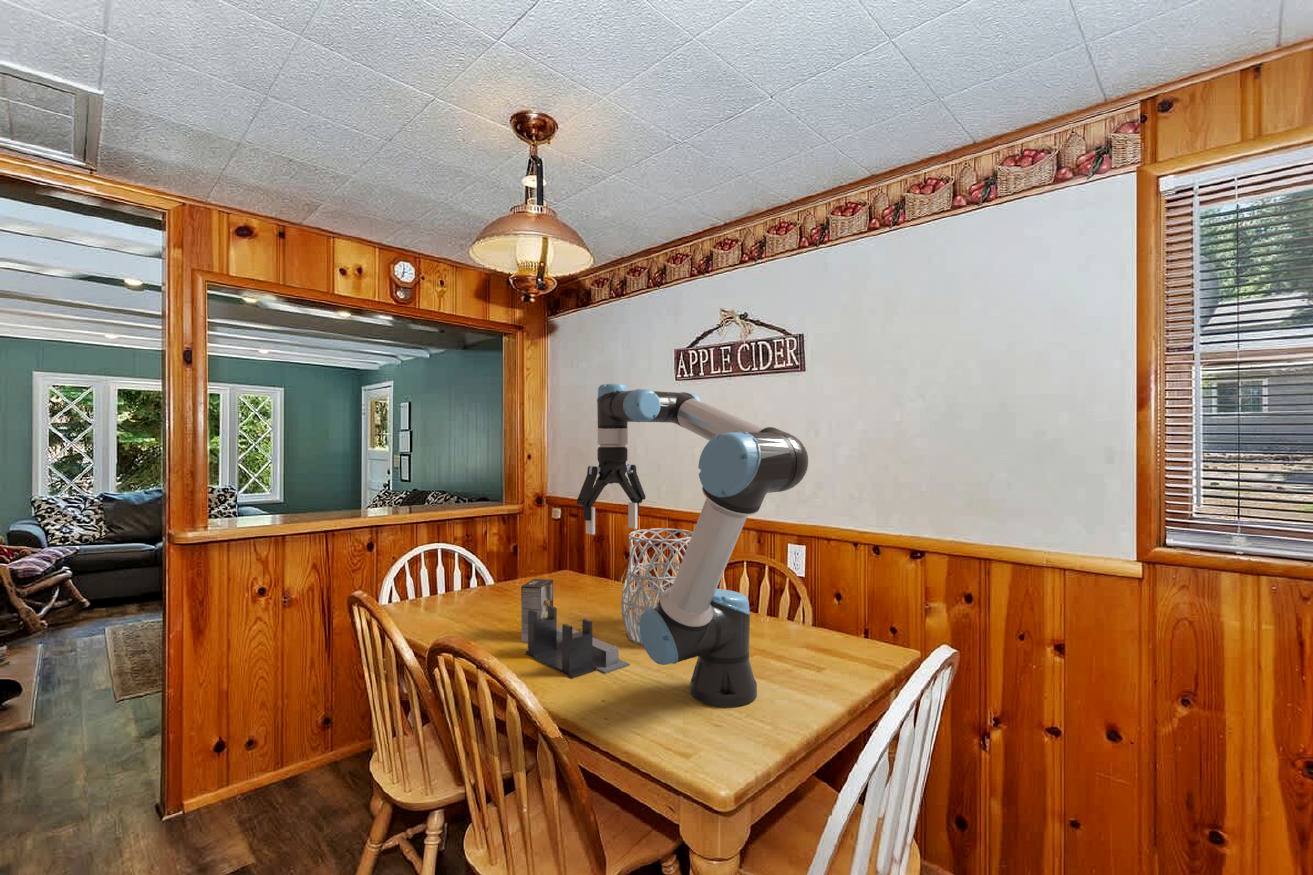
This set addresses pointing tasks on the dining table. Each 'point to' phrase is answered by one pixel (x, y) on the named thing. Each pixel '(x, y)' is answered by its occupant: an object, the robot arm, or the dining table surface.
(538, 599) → the coffee box
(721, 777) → the dining table surface
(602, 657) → the rail
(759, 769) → the dining table surface
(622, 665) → the mat
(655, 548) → the vase
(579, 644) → the rack
